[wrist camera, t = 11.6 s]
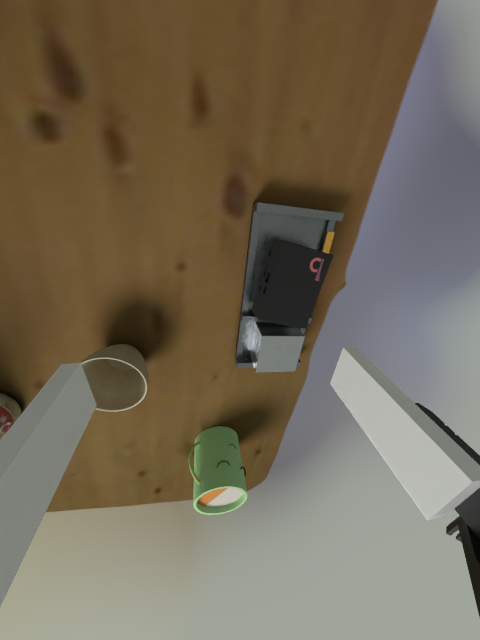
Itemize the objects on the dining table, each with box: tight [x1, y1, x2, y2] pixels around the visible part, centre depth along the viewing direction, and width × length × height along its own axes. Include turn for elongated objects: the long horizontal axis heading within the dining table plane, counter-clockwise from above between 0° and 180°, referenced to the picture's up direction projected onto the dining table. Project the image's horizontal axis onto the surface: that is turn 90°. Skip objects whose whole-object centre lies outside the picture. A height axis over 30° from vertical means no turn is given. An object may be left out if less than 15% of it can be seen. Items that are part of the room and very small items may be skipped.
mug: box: [189, 426, 247, 515], centre depth 45 cm, size 13×10×12 cm
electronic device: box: [251, 240, 333, 329], centre depth 31 cm, size 7×11×5 cm
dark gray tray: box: [235, 202, 344, 372], centre depth 34 cm, size 26×12×6 cm, turn 174°
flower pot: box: [80, 344, 148, 411], centre depth 34 cm, size 10×10×7 cm
